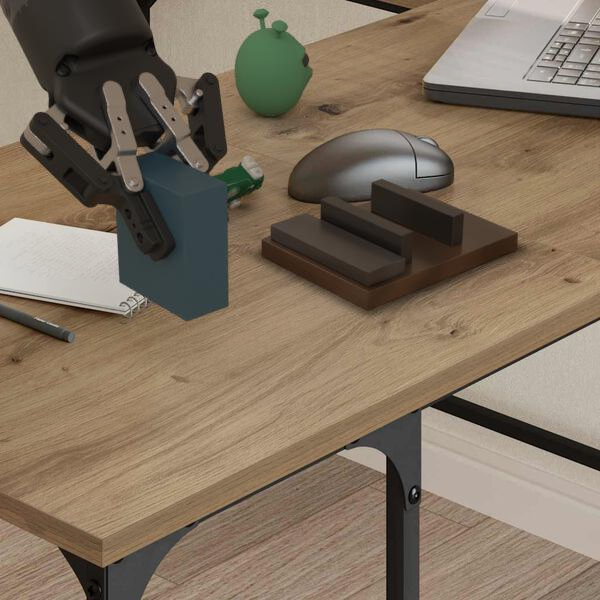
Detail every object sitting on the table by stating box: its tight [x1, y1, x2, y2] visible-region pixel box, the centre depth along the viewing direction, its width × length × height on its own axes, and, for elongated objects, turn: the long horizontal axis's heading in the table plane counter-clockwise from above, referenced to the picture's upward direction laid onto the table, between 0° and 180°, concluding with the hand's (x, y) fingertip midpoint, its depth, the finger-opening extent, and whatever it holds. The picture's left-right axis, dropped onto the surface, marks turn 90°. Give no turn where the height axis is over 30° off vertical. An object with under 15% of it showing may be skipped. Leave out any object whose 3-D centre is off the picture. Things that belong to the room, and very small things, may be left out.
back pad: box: [115, 151, 230, 323], centre depth 85 cm, size 3×7×8 cm, turn 41°
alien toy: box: [234, 8, 314, 117], centre depth 136 cm, size 7×8×10 cm
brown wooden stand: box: [260, 178, 519, 311], centre depth 109 cm, size 16×12×4 cm
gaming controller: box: [212, 154, 265, 210], centre depth 116 cm, size 9×4×6 cm
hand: (191, 244), depth 83 cm, fingers closed on back pad, 3 cm apart
